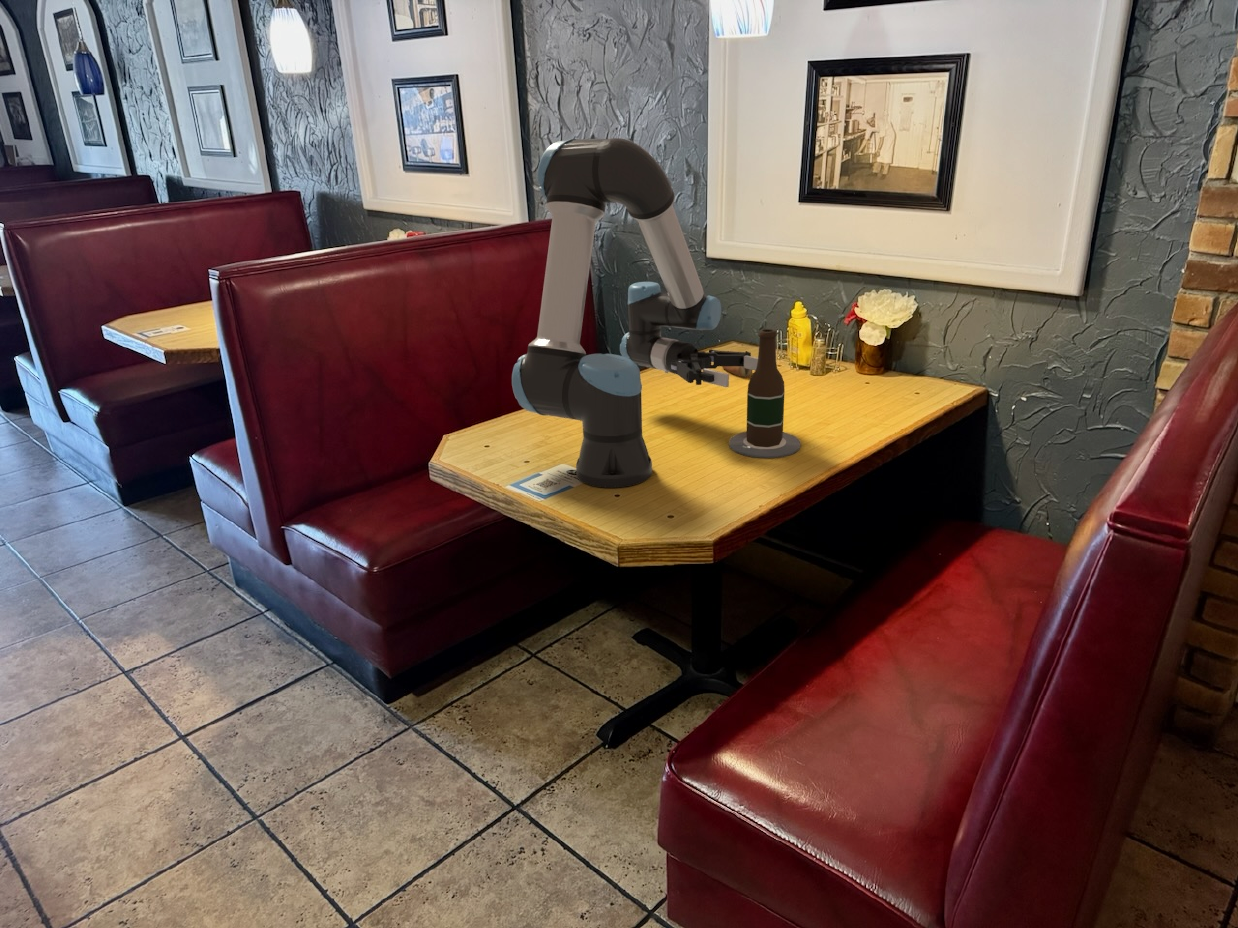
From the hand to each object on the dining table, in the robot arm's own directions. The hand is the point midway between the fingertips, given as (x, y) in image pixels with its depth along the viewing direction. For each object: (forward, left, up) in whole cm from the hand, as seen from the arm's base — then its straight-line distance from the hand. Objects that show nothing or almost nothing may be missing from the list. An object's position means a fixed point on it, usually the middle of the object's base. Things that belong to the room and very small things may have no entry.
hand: (748, 373), depth 178 cm
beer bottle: (0, -5, -14) cm, 15 cm away
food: (+40, +36, -15) cm, 56 cm away
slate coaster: (0, -5, -15) cm, 16 cm away
